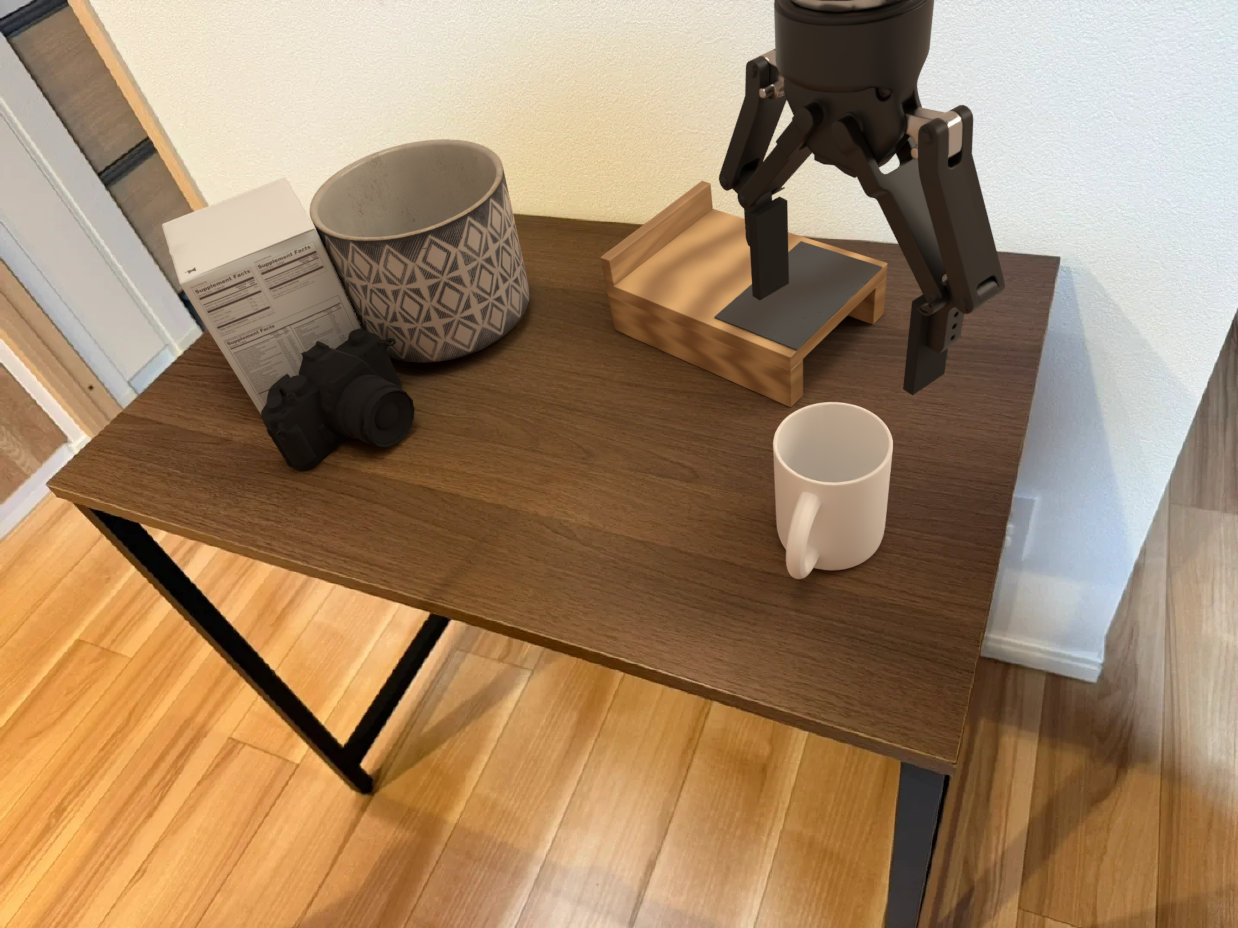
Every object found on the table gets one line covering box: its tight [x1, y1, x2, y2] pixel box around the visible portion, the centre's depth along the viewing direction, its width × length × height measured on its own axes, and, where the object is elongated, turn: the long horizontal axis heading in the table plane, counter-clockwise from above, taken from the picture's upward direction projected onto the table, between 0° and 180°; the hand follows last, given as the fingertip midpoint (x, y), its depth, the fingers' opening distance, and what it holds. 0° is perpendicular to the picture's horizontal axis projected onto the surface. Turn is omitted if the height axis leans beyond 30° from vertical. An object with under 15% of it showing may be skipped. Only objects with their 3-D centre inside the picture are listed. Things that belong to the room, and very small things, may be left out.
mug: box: [772, 401, 894, 580], centre depth 65 cm, size 12×8×10 cm
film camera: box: [260, 327, 416, 471], centre depth 83 cm, size 15×10×9 cm, turn 144°
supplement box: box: [161, 177, 362, 415], centre depth 89 cm, size 13×13×18 cm
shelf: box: [600, 180, 888, 408], centre depth 86 cm, size 22×16×9 cm
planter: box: [309, 138, 531, 364], centre depth 91 cm, size 19×19×16 cm
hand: (841, 332), depth 57 cm, fingers open, 13 cm apart
